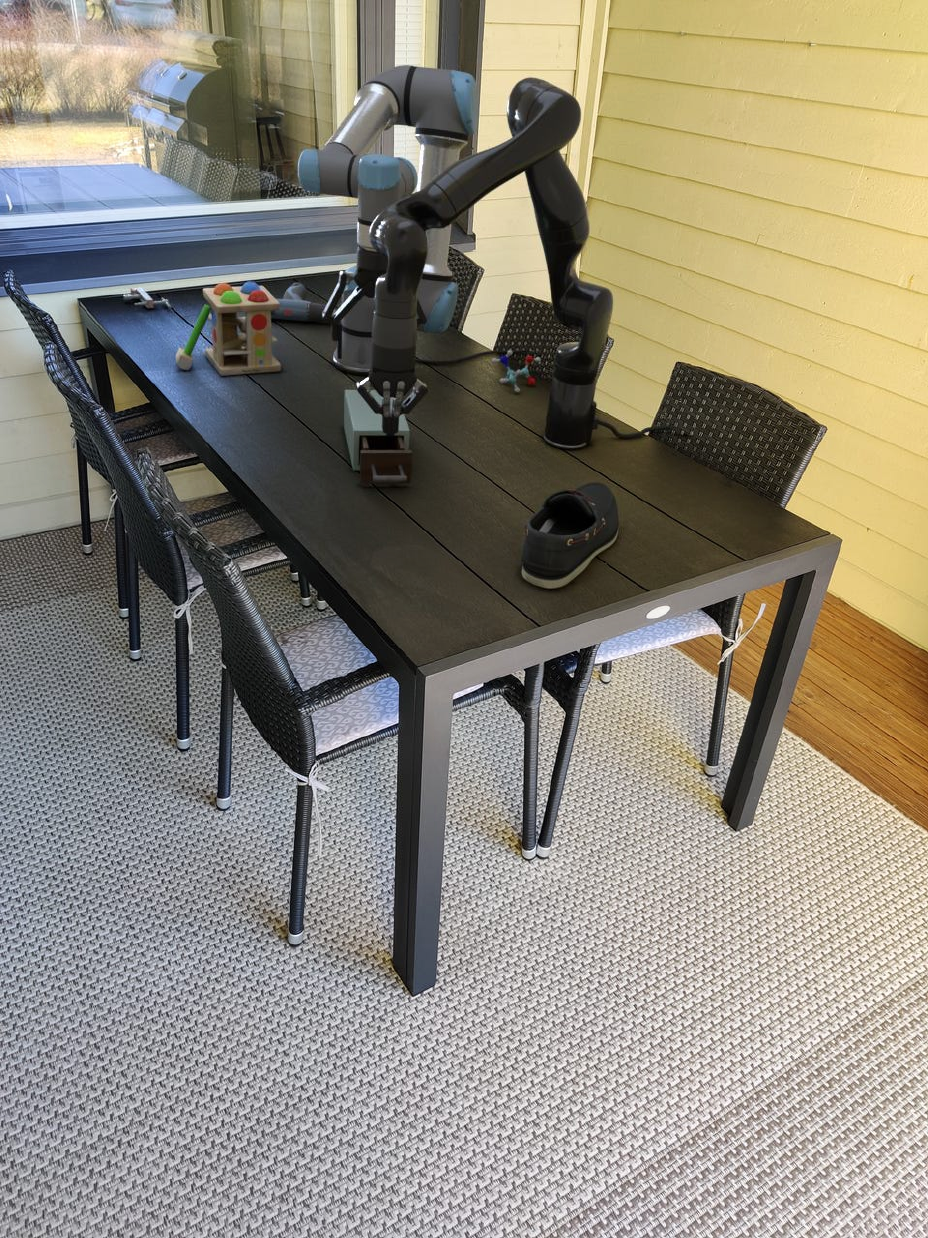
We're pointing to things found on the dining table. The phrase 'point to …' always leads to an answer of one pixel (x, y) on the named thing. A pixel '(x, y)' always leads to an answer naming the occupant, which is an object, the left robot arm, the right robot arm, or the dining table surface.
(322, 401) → the dining table surface
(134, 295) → the clamp
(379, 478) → the drawer
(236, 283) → the dining table surface
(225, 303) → the pounding bench toy
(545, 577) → the boat shoe
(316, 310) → the power drill
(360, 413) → the cabinet
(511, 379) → the molecular model
